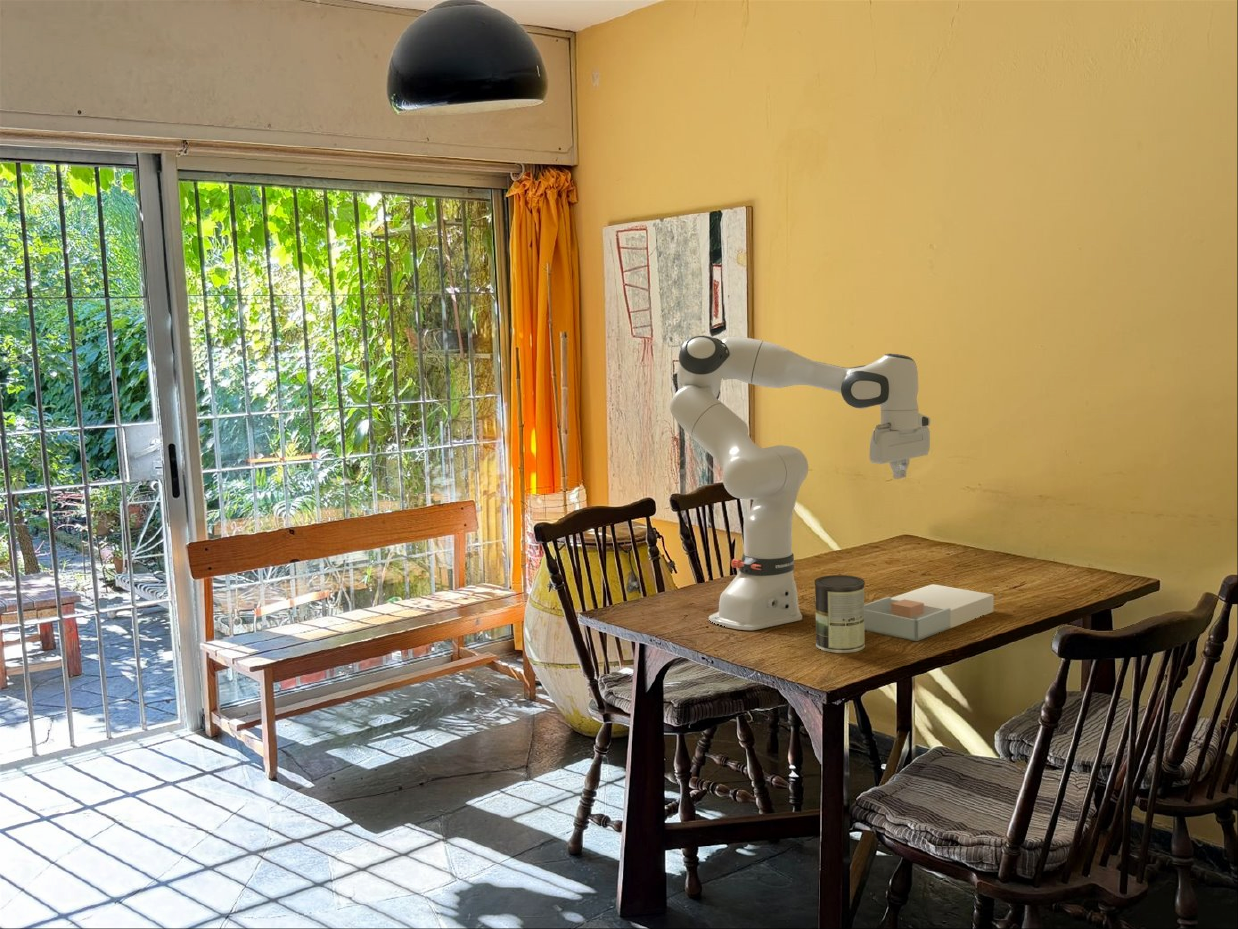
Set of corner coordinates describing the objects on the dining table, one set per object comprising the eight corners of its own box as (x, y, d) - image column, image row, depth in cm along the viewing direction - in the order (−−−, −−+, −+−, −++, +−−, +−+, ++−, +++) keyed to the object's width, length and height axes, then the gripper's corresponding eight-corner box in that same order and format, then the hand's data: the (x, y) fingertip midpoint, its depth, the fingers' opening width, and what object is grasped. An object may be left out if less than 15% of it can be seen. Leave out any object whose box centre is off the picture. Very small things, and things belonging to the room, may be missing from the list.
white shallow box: (950, 628, 248) (950, 610, 247) (888, 615, 260) (888, 598, 259) (993, 611, 260) (993, 594, 259) (932, 600, 272) (932, 584, 271)
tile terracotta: (910, 618, 246) (910, 607, 246) (891, 614, 250) (891, 603, 250) (923, 613, 250) (923, 603, 249) (904, 609, 253) (904, 599, 253)
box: (916, 641, 239) (916, 620, 239) (854, 627, 251) (854, 608, 250) (950, 628, 248) (950, 608, 247) (888, 615, 260) (888, 596, 259)
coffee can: (806, 648, 237) (805, 582, 236) (830, 636, 245) (829, 572, 243) (850, 656, 231) (849, 588, 229) (874, 643, 239) (873, 578, 237)
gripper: (884, 426, 264) (885, 484, 266) (934, 418, 277) (934, 474, 279) (862, 424, 269) (863, 482, 270) (912, 416, 282) (912, 471, 284)
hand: (899, 478), depth 275 cm, fingers closed
